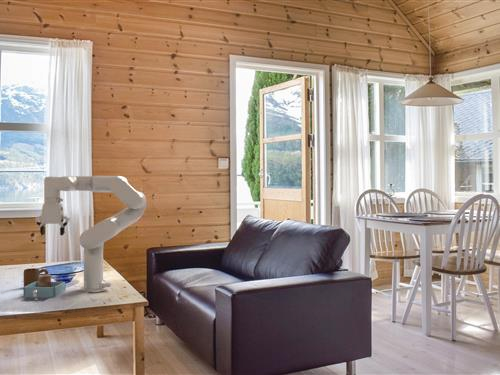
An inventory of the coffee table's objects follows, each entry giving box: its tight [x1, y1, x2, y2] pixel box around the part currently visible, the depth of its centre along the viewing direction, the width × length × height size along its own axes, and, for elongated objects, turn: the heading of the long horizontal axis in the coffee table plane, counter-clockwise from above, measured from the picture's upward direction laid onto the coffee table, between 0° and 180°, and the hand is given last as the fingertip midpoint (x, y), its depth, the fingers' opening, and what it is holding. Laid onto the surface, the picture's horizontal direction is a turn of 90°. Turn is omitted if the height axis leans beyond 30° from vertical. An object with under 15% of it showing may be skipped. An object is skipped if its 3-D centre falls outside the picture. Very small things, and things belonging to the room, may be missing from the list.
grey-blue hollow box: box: [20, 290, 50, 302], centre depth 234 cm, size 11×7×5 cm, turn 89°
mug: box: [23, 267, 49, 287], centre depth 264 cm, size 12×8×9 cm, turn 123°
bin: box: [23, 281, 67, 298], centre depth 245 cm, size 15×13×6 cm
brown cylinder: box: [39, 273, 52, 287], centre depth 245 cm, size 5×5×9 cm
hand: (52, 234), depth 255 cm, fingers open, 9 cm apart
